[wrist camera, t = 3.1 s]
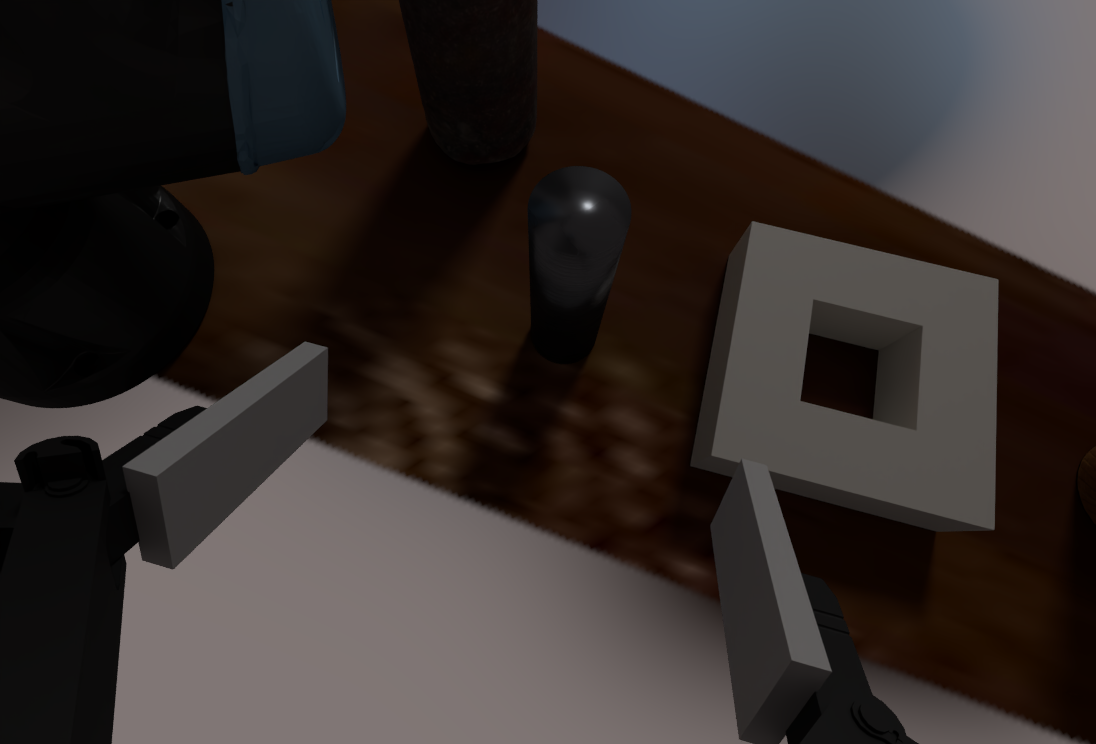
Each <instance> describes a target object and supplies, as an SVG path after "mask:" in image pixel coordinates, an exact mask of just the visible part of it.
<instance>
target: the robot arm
mask: <svg viewBox="0 0 1096 744" xmlns="http://www.w3.org/2000/svg"><path fill="white" fill-rule="evenodd" d="M345 117H346V94H345V84H344V75H343V68H342V61H341V54H340V48H339V42H338V36H337V30H336V24H335V19H334V13H333V8H332V2H331V0H0V398H2V399H6V400H10V401H13V402H17V403H21V404H25V405H29V406H35V407H43V408H70V407H77V406H83V405H88V404H93V403H96V402H100V401H103V400H106V399H109V398H112V397H114V396H117V395H119V394H122V393H124V392H125V391H128V390H130V389H131V388H133V387H135V386H137V385H139V384H141V383H142V382H144V381H145V380H147V379H148V378H150V377H151V376H153V375H154V374H155V373H157V372H158V371H159V370H160V369H162V368H163V367H164V366H165V365H166V364H167V363H169V362H170V361H171V360H172V359H173V358H174V357H175V356H176V355H177V354H178V353H179V351H180V350H181V349H182V348H183V347H184V346H185V344H186V343H187V342H188V340H189V339H190V338H191V336H192V335H193V333H194V332H195V330H196V329H197V327H198V325H199V323H200V322H201V320H202V318H203V315H204V313H205V311H206V309H207V306H208V303H209V300H210V296H211V292H212V287H213V280H214V260H213V253H212V249H211V245H210V243H209V240H208V237H207V235H206V233H205V231H204V229H203V227H202V226H201V224H200V223H199V222H198V220H197V219H196V218H195V217H194V215H193V214H192V213H191V212H190V211H189V210H188V209H187V208H186V207H184V206H183V205H182V204H181V203H180V202H179V201H178V200H177V199H176V198H175V197H174V196H173V195H172V194H171V193H170V192H168V191H167V190H166V189H165V188H164V187H162V186H161V185H166V184H171V183H177V182H183V181H188V180H194V179H200V178H205V177H211V176H217V175H222V174H228V173H234V172H239V171H241V173H243V174H244V175H248V174H253V173H254V172H256V171H257V170H258V168H259V167H260V166H264V165H268V164H272V163H277V162H281V161H285V160H290V159H294V158H298V157H303V156H307V155H311V154H315V153H319V152H321V151H323V150H325V149H327V148H328V147H329V146H331V145H332V144H333V143H334V142H335V140H336V139H337V138H338V137H339V135H340V133H341V131H342V129H343V126H344V122H345ZM327 397H328V348H327V347H324V346H320V345H316V344H312V343H309V342H304V343H302V344H301V345H299V346H298V347H296V348H295V349H293V350H292V351H290V352H289V353H288V354H286V355H285V356H283V357H282V358H280V359H279V360H277V361H276V362H274V363H273V364H271V365H270V366H269V367H267V368H266V369H264V370H263V371H261V372H260V373H258V374H257V375H255V376H254V377H252V378H251V379H250V380H248V381H247V382H245V383H244V384H242V385H241V386H239V387H238V388H236V389H235V390H233V391H232V392H231V393H229V394H228V395H226V396H225V397H223V398H222V399H220V400H219V401H217V402H216V403H214V404H213V405H211V406H210V407H209V408H204V407H200V406H195V407H192V408H189V409H186V410H183V411H180V412H177V413H175V414H173V415H172V416H170V417H168V418H167V419H165V420H164V421H162V422H161V423H159V424H158V426H157V427H153V428H151V429H150V430H149V431H147V432H145V433H144V435H143V436H139V437H138V438H136V439H135V440H133V441H131V442H130V443H128V444H127V445H125V446H124V447H122V448H121V449H119V450H118V451H116V452H114V453H113V454H111V455H110V456H108V457H107V458H105V459H104V460H102V459H101V454H100V450H99V447H98V443H97V442H95V441H94V440H92V439H90V438H86V437H81V436H61V437H57V438H51V439H46V440H44V441H41V442H39V443H36V444H33V445H31V446H29V447H28V448H26V449H25V450H23V451H22V452H20V453H19V455H18V456H17V458H16V459H15V460H14V462H15V465H16V467H17V471H18V474H19V477H20V480H21V483H7V482H5V483H4V482H0V744H111V743H112V732H113V720H114V708H115V695H116V683H117V671H118V659H119V647H120V635H121V623H122V610H123V599H124V587H125V574H126V560H125V556H124V554H125V553H126V552H127V551H128V550H130V549H131V548H132V547H133V546H134V545H135V544H137V543H138V542H139V547H140V551H141V556H142V560H143V561H146V562H150V563H153V564H156V565H160V566H163V567H166V568H170V569H174V568H175V567H176V566H177V565H178V564H179V563H180V562H181V561H182V560H184V558H186V557H187V556H188V555H189V554H190V553H191V552H192V551H193V550H194V549H195V548H196V546H198V545H199V544H200V543H201V542H202V541H203V540H204V539H205V538H206V537H207V536H208V535H209V534H210V533H211V532H212V531H213V530H214V529H215V528H216V527H218V526H219V525H220V524H221V523H222V522H223V520H225V519H226V518H227V517H228V516H229V515H230V514H231V513H232V512H233V511H234V510H235V509H236V508H237V507H238V506H239V505H240V504H241V503H242V502H243V501H244V500H245V499H246V498H247V497H248V496H249V495H250V494H252V493H253V491H255V490H256V489H257V487H259V486H260V485H261V484H262V483H263V482H264V481H265V480H266V479H267V478H268V477H269V476H270V475H271V474H272V473H273V472H274V471H275V470H276V469H277V468H278V467H279V466H280V465H281V464H282V463H283V462H284V461H285V460H286V459H287V458H289V457H290V456H291V455H292V454H293V453H294V452H295V451H296V450H297V449H298V448H299V447H300V446H301V445H302V444H303V443H304V442H305V441H306V440H307V439H308V438H309V437H310V436H311V435H312V434H313V433H314V432H315V431H316V430H317V429H318V428H319V427H321V426H322V425H323V424H324V423H325V422H326V421H327ZM710 528H711V535H712V542H713V550H714V557H715V564H716V572H717V579H718V587H719V594H720V601H721V608H722V616H723V623H724V631H725V638H726V645H727V653H728V660H729V667H730V675H731V682H732V690H733V697H734V704H735V712H736V719H737V727H738V734H739V739H740V740H743V741H746V742H750V743H753V744H779V743H780V742H781V740H782V739H783V738H784V737H785V735H786V736H787V741H788V744H918V743H917V742H915V741H914V740H912V739H911V738H909V737H908V736H906V733H905V729H904V727H903V726H902V724H901V723H900V721H899V720H898V718H897V716H896V715H895V714H894V713H893V712H892V711H891V710H890V709H889V708H888V707H887V706H886V705H885V704H884V703H883V702H882V701H880V700H879V699H878V698H876V697H875V696H873V695H872V692H871V689H870V686H869V684H868V681H867V679H866V676H865V673H864V670H863V668H862V665H861V662H860V660H859V657H858V654H857V651H856V649H855V646H854V643H853V641H852V638H851V637H850V636H849V630H848V627H847V625H846V622H845V621H844V620H843V618H844V617H843V614H842V611H841V608H840V606H839V603H838V600H837V598H836V596H835V595H834V594H833V593H832V591H831V590H830V589H829V587H828V586H827V585H826V583H825V582H824V581H823V579H821V578H817V577H814V576H810V575H807V574H803V573H801V572H800V569H799V566H798V563H797V559H796V556H795V553H794V550H793V547H792V544H791V540H790V537H789V534H788V531H787V528H786V524H785V521H784V518H783V515H782V512H781V509H780V505H779V502H778V499H777V496H776V493H775V490H774V486H773V483H772V480H771V477H770V474H769V471H768V467H767V465H764V464H760V463H757V462H753V461H749V460H745V459H742V458H741V461H740V463H739V465H738V467H737V469H736V471H735V473H734V476H733V478H732V480H731V482H730V484H729V486H728V489H727V491H726V493H725V495H724V497H723V499H722V502H721V504H720V506H719V508H718V510H717V512H716V515H715V517H714V519H713V521H712V523H711V525H710Z"/></svg>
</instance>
